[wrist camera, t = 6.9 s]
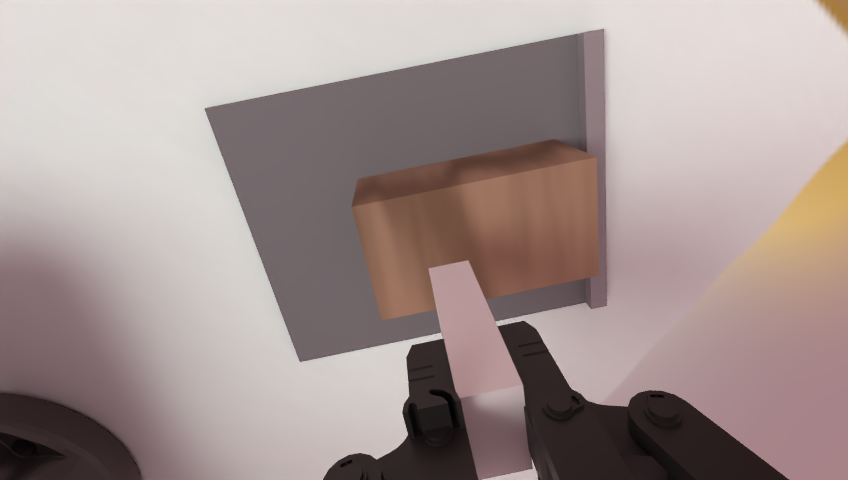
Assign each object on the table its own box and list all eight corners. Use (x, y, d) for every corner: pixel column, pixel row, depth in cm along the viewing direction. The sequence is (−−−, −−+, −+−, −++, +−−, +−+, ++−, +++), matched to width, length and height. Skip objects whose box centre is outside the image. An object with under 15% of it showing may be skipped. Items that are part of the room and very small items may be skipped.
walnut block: (381, 320, 21) (598, 275, 21) (351, 207, 18) (596, 157, 18) (381, 274, 25) (559, 237, 25) (357, 179, 23) (554, 139, 23)
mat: (300, 358, 27) (297, 370, 26) (207, 107, 21) (197, 110, 20) (597, 296, 28) (606, 305, 27) (592, 30, 21) (603, 29, 20)
